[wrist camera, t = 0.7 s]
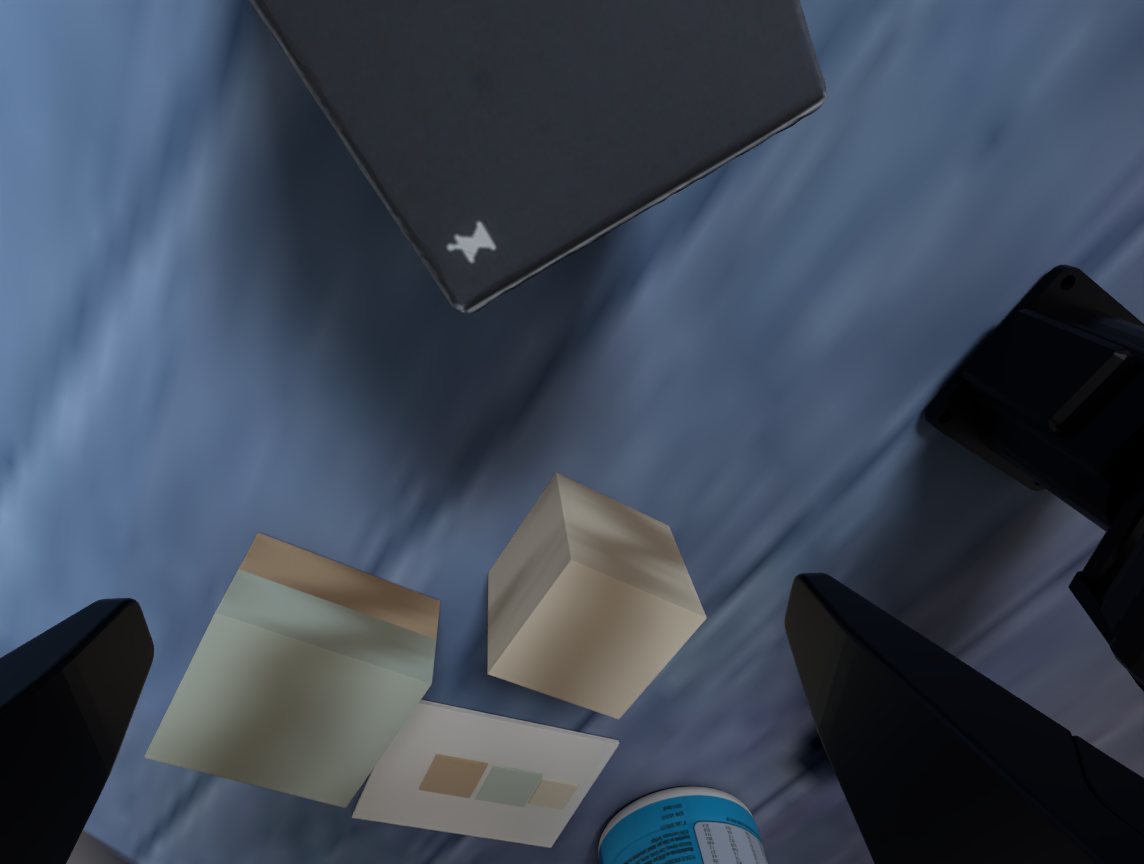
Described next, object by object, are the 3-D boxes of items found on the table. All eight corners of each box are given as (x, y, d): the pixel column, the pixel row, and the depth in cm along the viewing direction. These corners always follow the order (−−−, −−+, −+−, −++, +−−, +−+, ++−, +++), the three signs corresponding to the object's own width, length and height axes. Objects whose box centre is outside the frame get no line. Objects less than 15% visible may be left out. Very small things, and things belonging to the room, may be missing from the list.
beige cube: (668, 525, 25) (706, 618, 20) (597, 615, 26) (618, 719, 22) (555, 471, 23) (570, 559, 19) (488, 571, 25) (487, 674, 20)
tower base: (440, 600, 25) (431, 684, 22) (364, 716, 27) (345, 808, 24) (258, 532, 23) (215, 612, 19) (192, 664, 25) (143, 757, 22)
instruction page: (618, 740, 30) (619, 746, 30) (550, 843, 33) (551, 849, 33) (404, 696, 27) (403, 702, 27) (352, 813, 30) (351, 819, 30)
